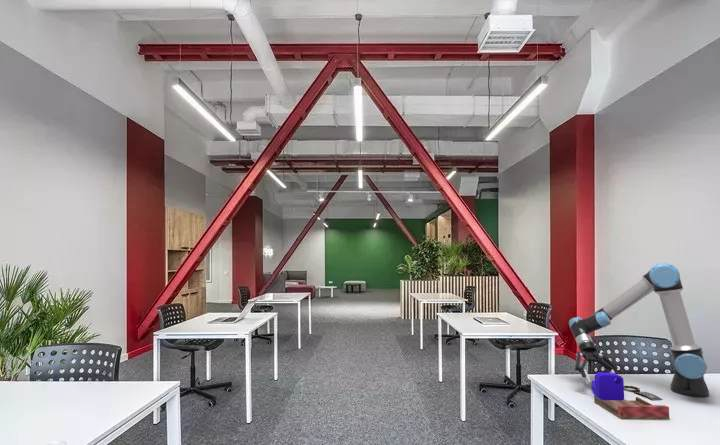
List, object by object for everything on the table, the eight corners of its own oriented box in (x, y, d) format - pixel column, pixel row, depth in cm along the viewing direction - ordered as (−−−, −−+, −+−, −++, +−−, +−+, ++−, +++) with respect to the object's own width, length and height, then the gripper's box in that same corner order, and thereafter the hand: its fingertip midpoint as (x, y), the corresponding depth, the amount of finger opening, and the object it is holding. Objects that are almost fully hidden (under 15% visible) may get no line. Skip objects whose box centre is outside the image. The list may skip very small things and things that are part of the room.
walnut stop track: (637, 402, 196) (637, 391, 196) (669, 419, 176) (668, 407, 176) (594, 402, 196) (594, 391, 196) (620, 419, 176) (620, 406, 176)
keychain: (649, 401, 199) (649, 397, 199) (618, 388, 217) (618, 384, 218) (664, 401, 200) (663, 396, 200) (632, 388, 219) (631, 384, 219)
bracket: (624, 401, 197) (623, 375, 198) (599, 400, 198) (598, 374, 199) (605, 389, 215) (604, 365, 216) (583, 388, 216) (582, 365, 217)
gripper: (607, 349, 224) (625, 387, 208) (559, 348, 224) (574, 386, 208) (612, 341, 219) (632, 379, 203) (564, 340, 219) (579, 378, 203)
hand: (603, 383), depth 206 cm, fingers open, 13 cm apart
